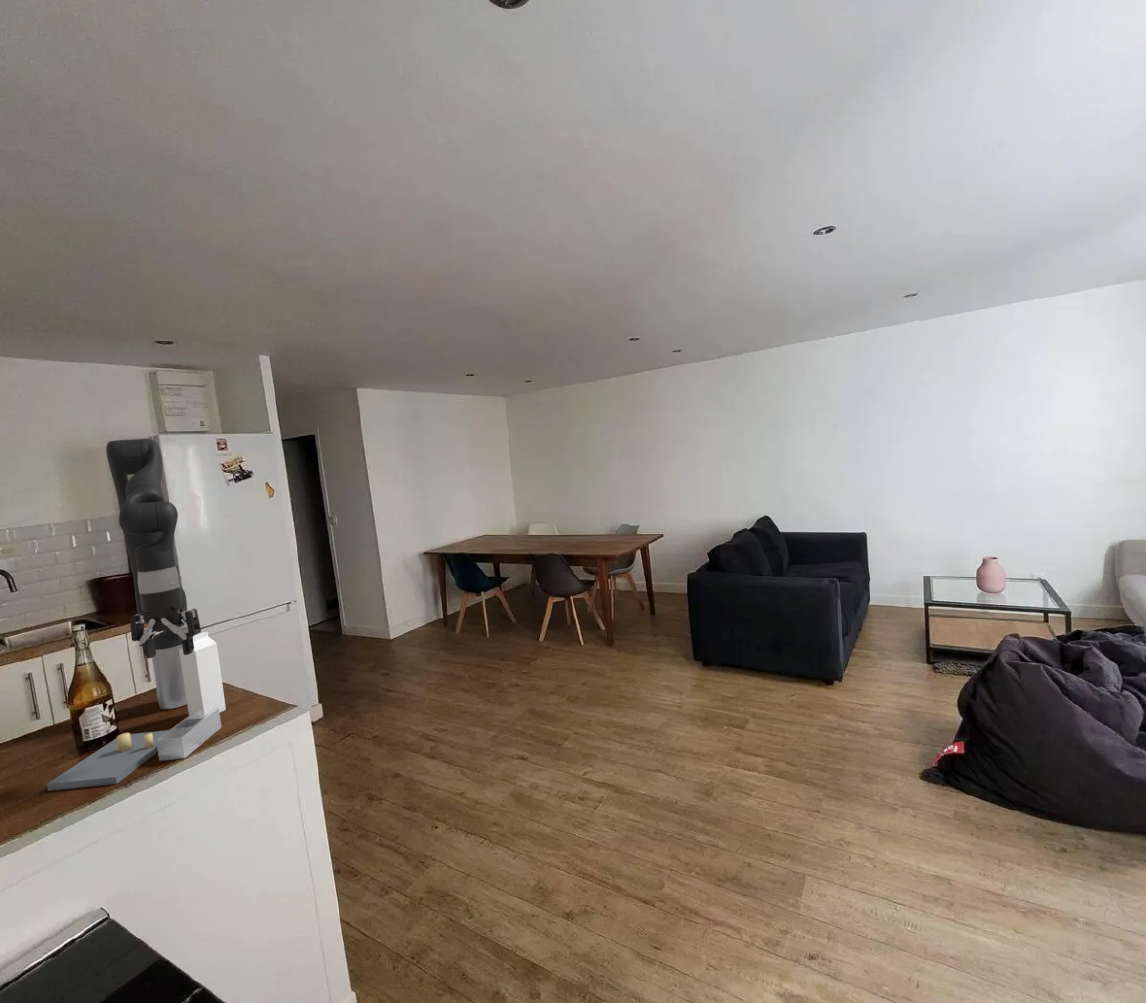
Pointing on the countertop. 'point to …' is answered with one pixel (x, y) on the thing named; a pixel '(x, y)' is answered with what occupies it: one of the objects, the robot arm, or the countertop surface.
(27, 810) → the countertop surface
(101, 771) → the base plate
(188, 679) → the milk
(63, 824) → the countertop surface
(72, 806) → the countertop surface
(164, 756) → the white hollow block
